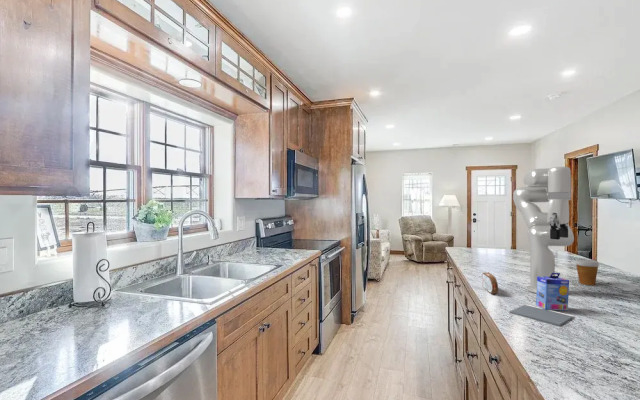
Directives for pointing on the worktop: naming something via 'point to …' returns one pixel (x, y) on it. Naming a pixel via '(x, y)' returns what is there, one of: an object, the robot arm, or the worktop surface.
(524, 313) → the mat
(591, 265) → the disposable coffee cup
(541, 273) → the robot arm
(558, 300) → the ink cartridge box
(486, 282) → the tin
